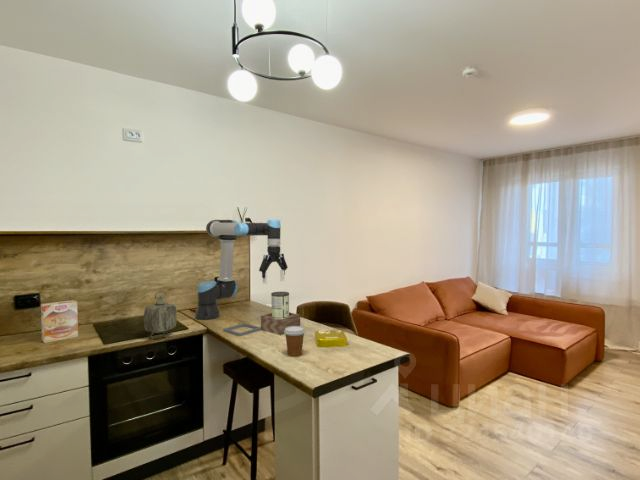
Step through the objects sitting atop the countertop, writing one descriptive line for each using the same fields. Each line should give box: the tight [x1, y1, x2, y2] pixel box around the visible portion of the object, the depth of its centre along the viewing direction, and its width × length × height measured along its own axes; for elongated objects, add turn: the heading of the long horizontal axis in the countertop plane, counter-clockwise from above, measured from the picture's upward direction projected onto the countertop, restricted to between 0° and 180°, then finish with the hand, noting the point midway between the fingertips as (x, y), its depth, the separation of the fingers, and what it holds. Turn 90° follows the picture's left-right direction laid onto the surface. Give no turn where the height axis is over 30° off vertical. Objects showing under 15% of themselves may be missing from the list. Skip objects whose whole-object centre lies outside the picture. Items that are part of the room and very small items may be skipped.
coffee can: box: [270, 291, 290, 319], centre depth 203 cm, size 10×10×14 cm
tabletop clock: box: [143, 290, 178, 340], centre depth 190 cm, size 14×9×25 cm, turn 152°
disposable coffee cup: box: [284, 325, 306, 357], centre depth 162 cm, size 10×10×12 cm
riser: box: [260, 311, 301, 336], centre depth 203 cm, size 16×16×8 cm
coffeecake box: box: [40, 299, 79, 344], centre depth 188 cm, size 15×7×20 cm, turn 137°
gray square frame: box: [222, 322, 262, 337], centre depth 201 cm, size 15×15×2 cm
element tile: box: [314, 329, 348, 348], centre depth 180 cm, size 15×15×5 cm
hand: (273, 282), depth 206 cm, fingers open, 13 cm apart
